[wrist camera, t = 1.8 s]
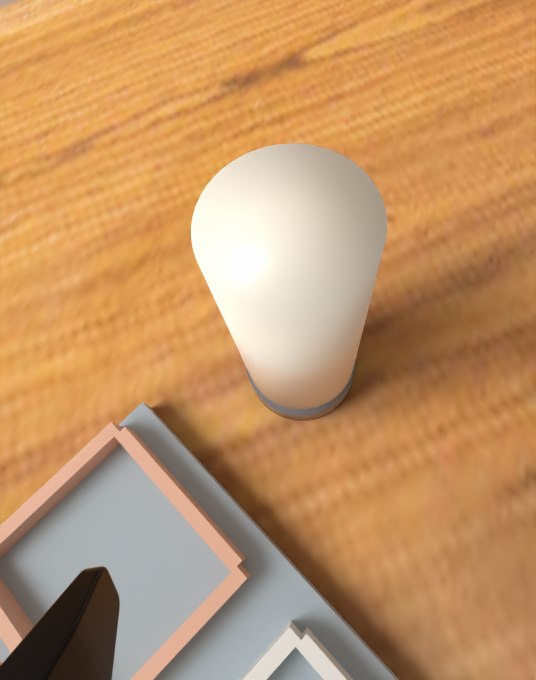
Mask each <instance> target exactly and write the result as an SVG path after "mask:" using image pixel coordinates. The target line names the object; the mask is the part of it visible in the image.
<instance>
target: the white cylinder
mask: <svg viewBox="0 0 536 680" xmlns="http://www.w3.org/2000/svg"><path fill="white" fill-rule="evenodd" d="M386 234H387V215H386V209H385V205H384V202H383V199H382V196H381V194H380V192H379V190H378V188H377V187H376V185H375V184H374V182H373V181H372V179H371V178H370V177H369V176H368V175H367V174H366V172H365V171H364V170H363V169H362V168H360V167H359V166H358V165H357V164H355V163H354V162H353V161H351V160H350V159H348V158H346V157H345V156H343V155H341V154H339V153H337V152H335V151H332V150H329V149H326V148H323V147H319V146H314V145H308V144H279V145H272V146H268V147H263V148H260V149H257V150H254V151H251V152H249V153H247V154H245V155H243V156H241V157H239V158H237V159H236V160H234V161H232V162H231V163H229V164H228V165H227V166H225V167H224V168H223V169H222V170H220V171H219V172H218V173H217V174H216V175H215V176H214V177H213V178H212V180H211V181H210V182H209V183H208V185H207V186H206V187H205V189H204V191H203V192H202V194H201V196H200V198H199V200H198V202H197V204H196V207H195V210H194V214H193V218H192V225H191V240H192V246H193V251H194V254H195V257H196V260H197V262H198V264H199V267H200V269H201V271H202V273H203V275H204V277H205V279H206V282H207V284H208V286H209V288H210V290H211V292H212V294H213V297H214V299H215V301H216V303H217V305H218V307H219V310H220V312H221V314H222V316H223V318H224V320H225V322H226V325H227V327H228V329H229V331H230V333H231V335H232V337H233V340H234V342H235V344H236V346H237V348H238V350H239V352H240V355H241V357H242V359H243V361H244V363H245V365H246V369H247V373H248V376H249V379H250V381H251V383H252V385H253V388H254V390H255V392H256V394H257V396H258V397H259V399H260V400H261V401H262V403H263V404H264V405H265V406H266V407H267V408H269V409H270V410H271V411H272V412H274V413H276V414H277V415H279V416H282V417H284V418H287V419H292V420H300V421H304V420H312V419H317V418H320V417H322V416H325V415H326V414H328V413H330V412H331V411H333V410H334V409H336V408H337V407H338V406H339V405H340V404H341V403H342V401H343V400H344V399H345V397H346V396H347V394H348V392H349V390H350V387H351V384H352V380H353V377H354V373H355V368H356V356H357V352H358V348H359V344H360V340H361V336H362V332H363V328H364V324H365V320H366V316H367V312H368V308H369V305H370V301H371V297H372V293H373V289H374V285H375V281H376V277H377V273H378V269H379V265H380V261H381V257H382V253H383V249H384V245H385V241H386Z"/></svg>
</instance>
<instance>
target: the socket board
mask: <svg viewBox="0 0 536 680" xmlns="http://www.w3.org/2000/svg"><path fill="white" fill-rule="evenodd" d="M99 566H104V567H106V568H107V569H108V571H109V573H110V576H111V578H112V580H113V583H114V585H115V587H116V590H117V592H118V595H119V599H120V610H119V619H118V628H117V637H116V646H115V655H114V664H113V673H112V680H400V679H399V678H398V677H397V676H396V675H395V674H394V673H393V672H392V671H391V670H390V668H389V667H388V666H387V665H386V664H385V663H384V662H383V661H382V660H381V659H380V658H379V656H378V655H377V654H376V653H375V652H374V651H373V650H372V649H371V648H370V647H369V645H368V644H367V643H366V642H365V641H364V640H363V639H362V638H361V637H360V636H359V635H358V633H357V632H356V631H355V630H354V629H353V628H352V627H351V626H350V625H349V624H348V623H347V621H346V620H345V619H344V618H343V617H342V616H341V615H340V614H339V613H338V612H337V611H336V609H335V608H334V607H333V606H332V605H331V604H330V603H329V602H328V601H327V600H326V598H325V597H324V596H323V595H322V594H321V593H320V592H319V591H318V590H317V589H316V588H315V586H314V585H313V584H312V583H311V582H310V581H309V580H308V579H307V578H306V577H305V576H304V574H303V573H302V572H301V571H300V570H299V569H298V568H297V567H296V566H295V565H294V564H293V562H292V561H291V560H290V559H289V558H288V557H287V556H286V555H285V554H284V553H283V551H282V550H281V549H280V548H279V547H278V546H277V545H276V544H275V543H274V542H273V541H272V539H271V538H270V537H269V536H268V535H267V534H266V533H265V532H264V531H263V530H262V529H261V527H260V526H259V525H258V524H257V523H256V522H255V521H254V520H253V519H252V518H251V517H250V515H249V514H248V513H247V512H246V511H245V510H244V509H243V508H242V507H241V506H240V504H239V503H238V502H237V501H236V500H235V499H234V498H233V497H232V496H231V495H230V494H229V492H228V491H227V490H226V489H225V488H224V487H223V486H222V485H221V484H220V483H219V482H218V480H217V479H216V478H215V477H214V476H213V475H212V474H211V473H210V472H209V471H208V469H207V468H206V467H205V466H204V465H203V464H202V463H201V462H200V461H199V460H198V459H197V457H196V456H195V455H194V454H193V453H192V452H191V451H190V450H189V449H188V448H187V447H186V445H185V444H184V443H183V442H182V441H181V440H180V439H179V438H178V437H177V436H176V435H175V433H174V432H173V431H172V430H171V429H170V428H169V427H168V426H167V425H166V424H165V422H164V421H163V420H162V419H161V418H160V417H159V416H158V415H157V414H156V413H155V412H154V410H153V409H152V408H151V407H149V406H148V405H146V404H145V403H143V402H142V403H141V404H140V405H139V406H138V407H137V408H136V409H135V410H134V411H133V412H132V413H131V414H129V415H128V416H127V417H126V418H125V419H124V420H123V421H122V422H121V423H120V424H119V425H117V424H115V423H112V422H110V423H109V424H108V425H107V426H106V427H105V428H104V429H103V430H102V431H101V432H100V433H99V434H98V435H97V436H95V437H94V438H93V439H92V440H91V441H90V442H89V443H88V444H87V445H86V446H85V447H84V448H83V449H82V450H81V451H79V452H78V453H77V454H76V455H75V456H74V457H73V458H72V459H71V460H70V461H69V462H68V463H67V464H66V465H64V466H63V467H62V468H61V469H60V470H59V471H58V472H57V473H56V474H55V475H54V476H53V477H52V478H51V479H50V480H48V481H47V482H46V483H45V484H44V485H43V486H42V487H41V488H40V489H39V490H38V491H37V492H36V493H35V494H33V495H32V496H31V497H30V498H29V499H28V500H27V501H26V502H25V503H24V504H23V505H22V506H21V507H20V508H18V509H17V510H16V511H15V512H14V513H13V514H12V515H11V516H10V517H9V518H8V519H7V520H6V521H5V522H4V523H2V524H1V525H0V661H1V662H2V663H3V662H4V661H5V660H6V658H7V657H8V656H9V655H10V654H11V653H12V651H13V650H14V649H15V648H16V647H17V646H18V644H19V643H20V642H21V641H22V640H23V639H24V637H25V636H26V635H27V634H28V633H29V631H30V630H31V629H32V628H33V627H34V626H35V624H36V623H37V622H38V621H39V620H40V619H41V617H42V616H43V615H44V614H45V613H46V612H47V610H48V609H49V608H50V607H51V606H52V605H53V603H54V602H55V601H56V600H57V599H58V598H59V596H60V595H61V594H62V593H63V592H64V591H65V589H66V588H67V587H68V586H69V585H70V584H71V582H72V581H73V580H74V579H75V578H76V577H77V575H78V574H79V573H80V572H81V571H83V570H84V569H87V568H93V567H99Z"/></svg>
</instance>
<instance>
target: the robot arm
mask: <svg viewBox="0 0 536 680" xmlns="http://www.w3.org/2000/svg"><path fill="white" fill-rule="evenodd" d="M119 610H120V599H119V595H118V592H117V590H116V587H115V585H114V583H113V580H112V578H111V576H110V573H109V571H108V569H107V568H106V567H104V566H99V567H93V568H87V569H84V570H83V571H81V572H80V573H79V574H78V575H77V577H76V578H75V579H74V580H73V581H72V582H71V584H70V585H69V586H68V587H67V588H66V589H65V591H64V592H63V593H62V594H61V595H60V596H59V598H58V599H57V600H56V601H55V602H54V603H53V605H52V606H51V607H50V608H49V609H48V610H47V612H46V613H45V614H44V615H43V616H42V617H41V619H40V620H39V621H38V622H37V623H36V624H35V626H34V627H33V628H32V629H31V630H30V631H29V633H28V634H27V635H26V636H25V637H24V639H23V640H22V641H21V642H20V643H19V644H18V646H17V647H16V648H15V649H14V650H13V651H12V653H11V654H10V655H9V656H8V657H7V658H6V660H5V661H4V662H3V663H2V664H1V665H0V680H112V673H113V664H114V655H115V646H116V637H117V628H118V619H119Z"/></svg>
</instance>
